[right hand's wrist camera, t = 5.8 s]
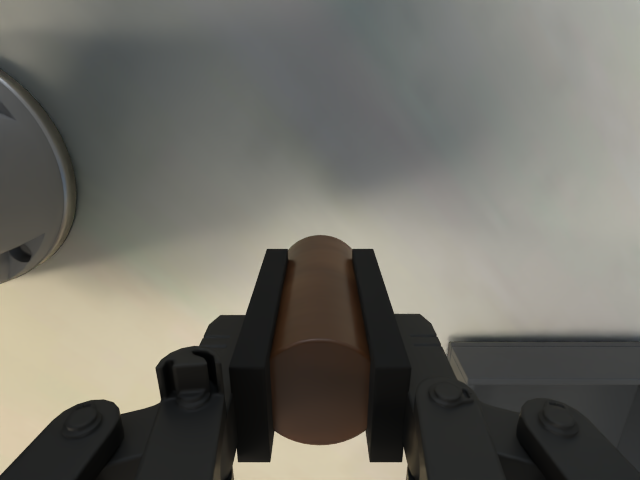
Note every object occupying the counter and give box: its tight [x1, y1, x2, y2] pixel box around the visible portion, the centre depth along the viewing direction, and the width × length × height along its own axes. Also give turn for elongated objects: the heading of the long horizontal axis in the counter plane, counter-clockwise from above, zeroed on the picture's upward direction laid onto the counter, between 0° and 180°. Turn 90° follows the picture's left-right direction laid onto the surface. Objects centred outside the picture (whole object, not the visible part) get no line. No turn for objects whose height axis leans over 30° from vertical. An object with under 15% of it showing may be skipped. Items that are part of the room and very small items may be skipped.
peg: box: [270, 235, 370, 445], centre depth 13 cm, size 3×3×7 cm
